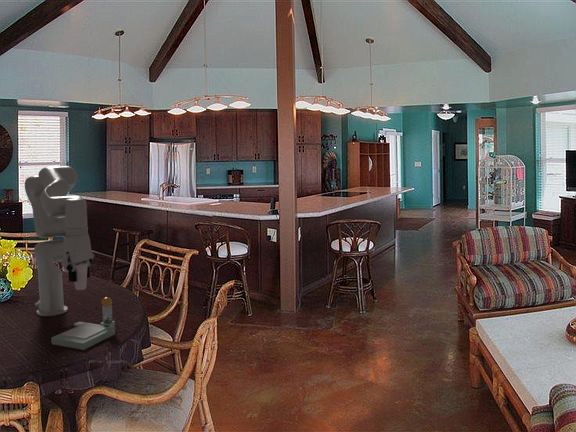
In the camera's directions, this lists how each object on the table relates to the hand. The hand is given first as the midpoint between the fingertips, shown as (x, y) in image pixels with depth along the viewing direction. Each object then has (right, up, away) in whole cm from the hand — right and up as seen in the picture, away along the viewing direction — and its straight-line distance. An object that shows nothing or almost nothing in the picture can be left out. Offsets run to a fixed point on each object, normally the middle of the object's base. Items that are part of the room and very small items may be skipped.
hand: (79, 278), depth 199 cm
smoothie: (0, -4, +1) cm, 4 cm away
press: (-2, -23, +6) cm, 24 cm away
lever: (+6, -21, +13) cm, 25 cm away
